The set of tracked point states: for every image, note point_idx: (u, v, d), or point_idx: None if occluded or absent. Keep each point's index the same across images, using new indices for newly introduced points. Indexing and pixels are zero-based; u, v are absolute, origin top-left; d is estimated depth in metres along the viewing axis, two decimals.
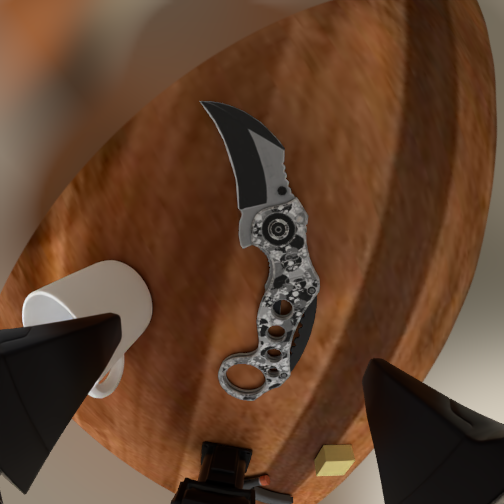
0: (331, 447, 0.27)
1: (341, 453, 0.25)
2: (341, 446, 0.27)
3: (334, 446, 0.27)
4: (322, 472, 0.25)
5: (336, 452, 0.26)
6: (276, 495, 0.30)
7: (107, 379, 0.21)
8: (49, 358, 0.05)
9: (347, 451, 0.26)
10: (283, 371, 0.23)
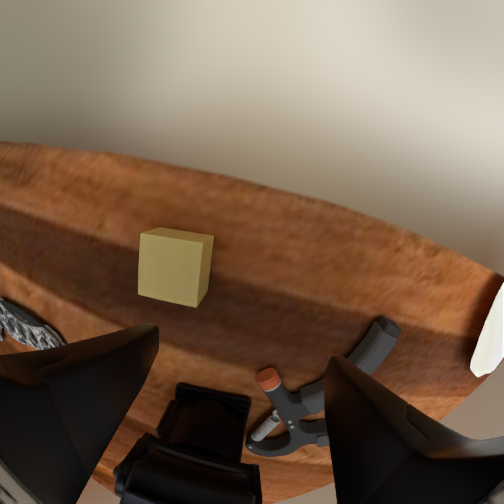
0: None
1: None
2: None
3: None
4: (179, 297, 0.16)
5: None
6: (355, 353, 0.18)
7: None
8: (92, 379, 0.05)
9: None
10: (40, 333, 0.20)
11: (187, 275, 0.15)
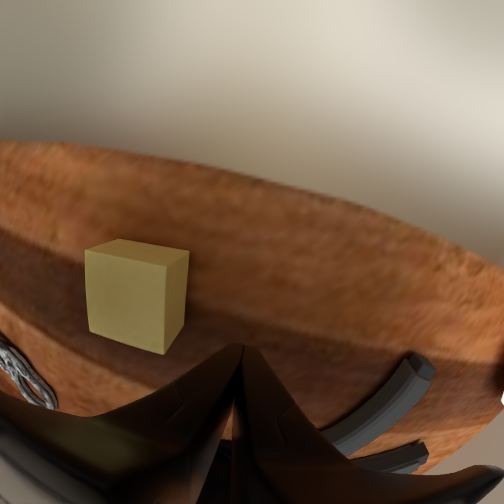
0: None
1: None
2: None
3: None
4: (139, 340, 0.10)
5: None
6: (378, 398, 0.13)
7: None
8: None
9: None
10: (6, 357, 0.14)
11: (147, 312, 0.10)
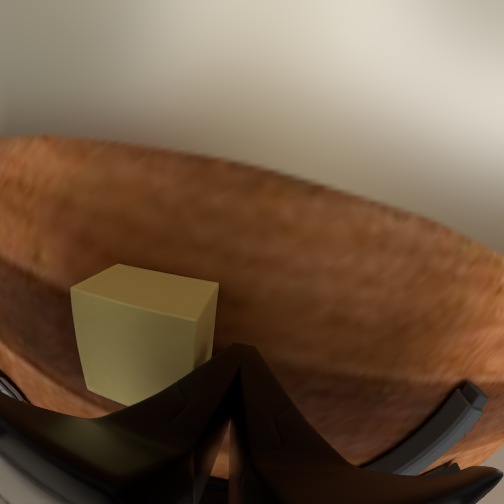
0: None
1: None
2: None
3: None
4: None
5: None
6: (427, 432, 0.09)
7: None
8: None
9: None
10: None
11: (168, 377, 0.07)
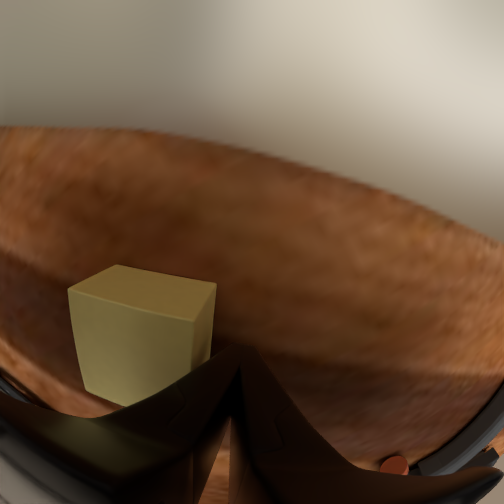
0: None
1: None
2: None
3: None
4: None
5: None
6: (484, 418, 0.09)
7: None
8: None
9: None
10: None
11: (166, 378, 0.07)
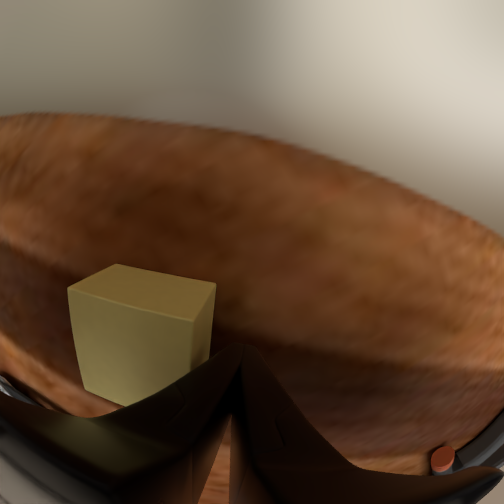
0: None
1: None
2: None
3: None
4: None
5: None
6: None
7: None
8: None
9: None
10: None
11: (165, 377, 0.07)
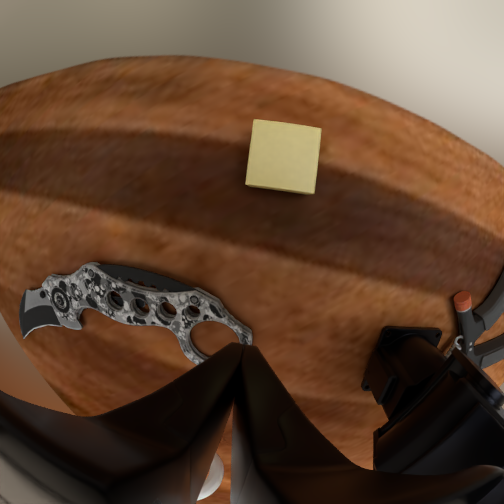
0: None
1: None
2: None
3: None
4: (295, 183, 0.15)
5: None
6: None
7: None
8: None
9: None
10: (187, 300, 0.19)
11: (305, 159, 0.15)
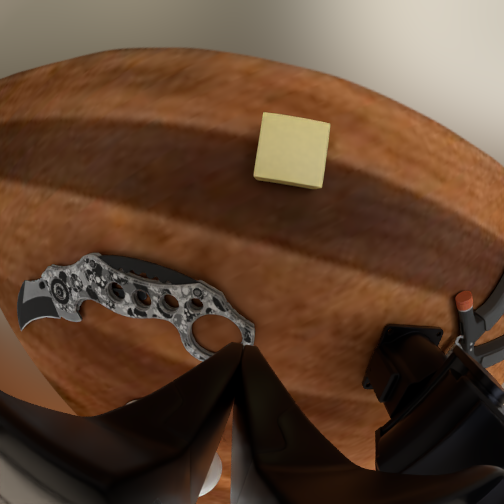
0: None
1: None
2: None
3: None
4: (303, 176, 0.15)
5: None
6: None
7: None
8: None
9: None
10: (190, 293, 0.18)
11: (314, 153, 0.15)
